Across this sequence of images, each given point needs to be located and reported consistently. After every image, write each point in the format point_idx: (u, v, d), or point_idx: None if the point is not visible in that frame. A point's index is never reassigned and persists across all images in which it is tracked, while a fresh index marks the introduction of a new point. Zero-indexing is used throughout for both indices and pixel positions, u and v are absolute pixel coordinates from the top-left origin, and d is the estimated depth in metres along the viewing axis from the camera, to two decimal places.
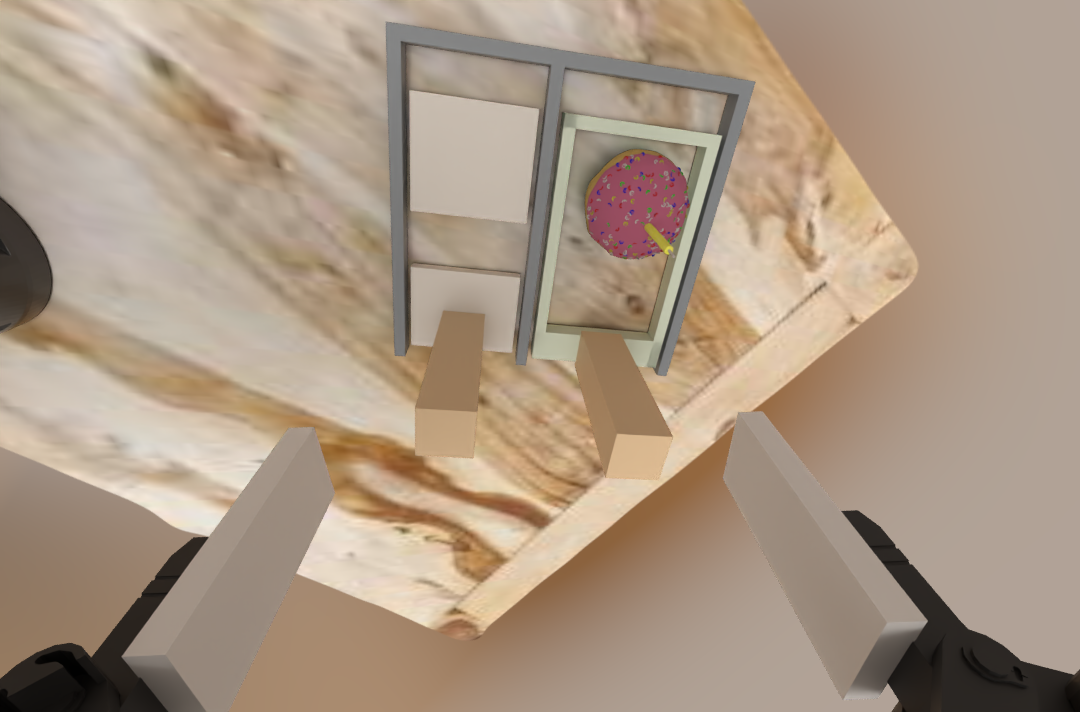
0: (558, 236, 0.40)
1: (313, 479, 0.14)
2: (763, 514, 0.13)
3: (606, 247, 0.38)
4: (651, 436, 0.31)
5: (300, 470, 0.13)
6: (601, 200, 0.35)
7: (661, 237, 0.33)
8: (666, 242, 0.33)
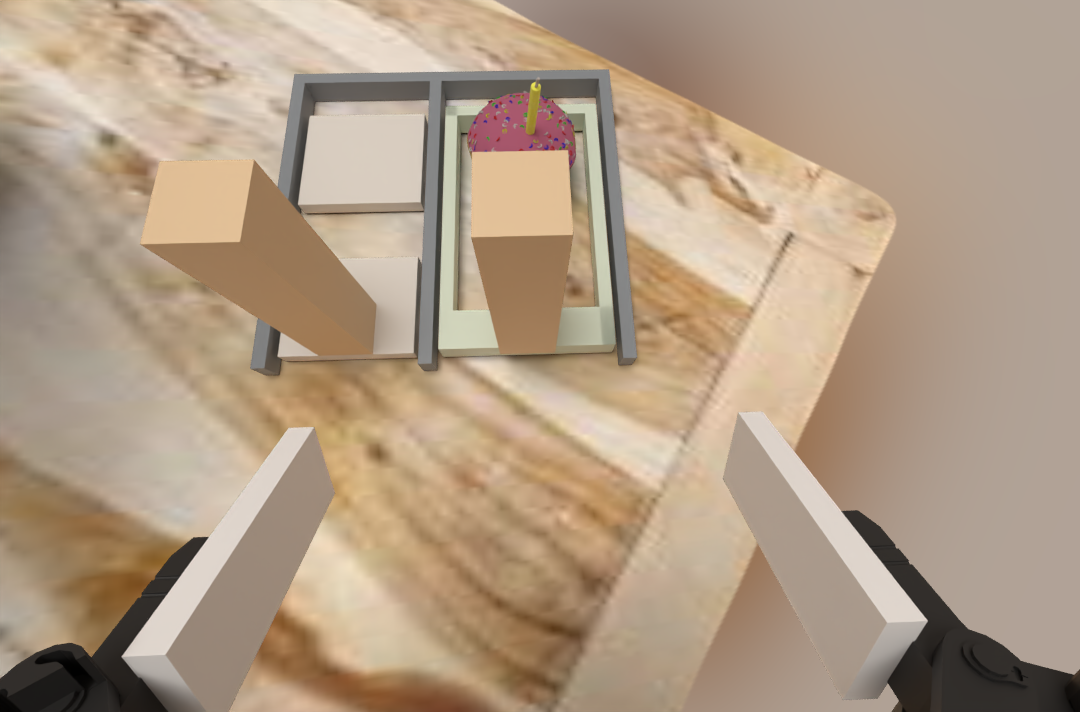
0: (453, 201, 0.37)
1: (313, 479, 0.14)
2: (763, 515, 0.13)
3: None
4: (530, 152, 0.19)
5: (300, 470, 0.13)
6: (477, 124, 0.34)
7: None
8: None
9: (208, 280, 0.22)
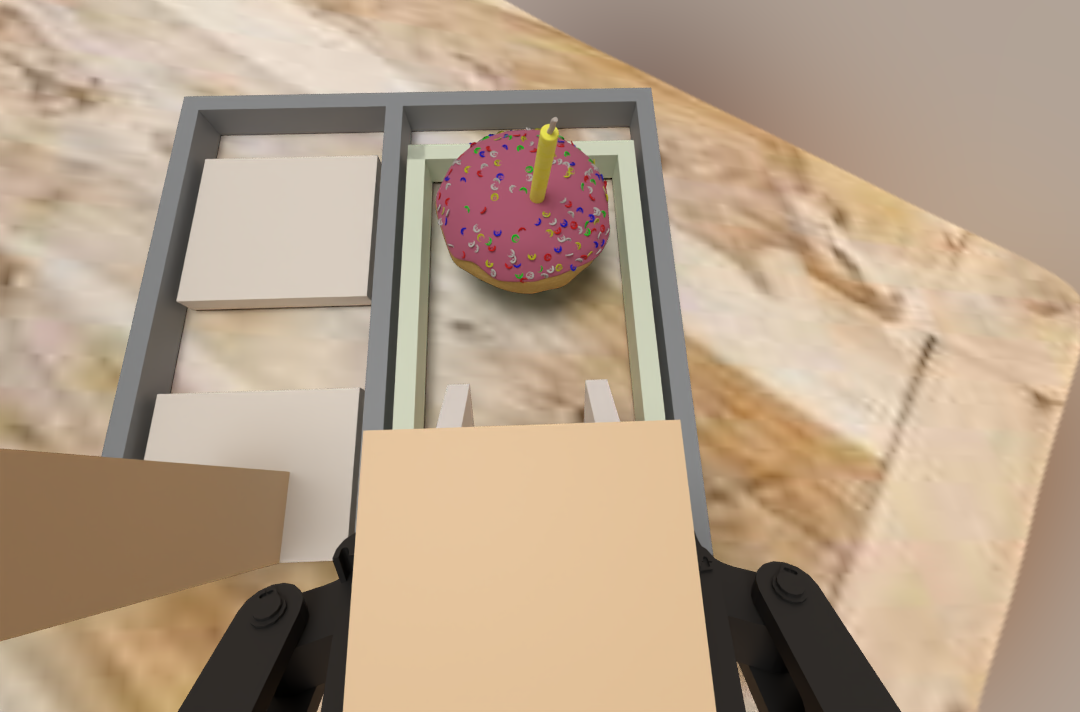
0: (416, 298, 0.24)
1: None
2: None
3: (479, 259, 0.21)
4: (557, 428, 0.06)
5: (467, 418, 0.15)
6: (451, 183, 0.21)
7: None
8: None
9: None
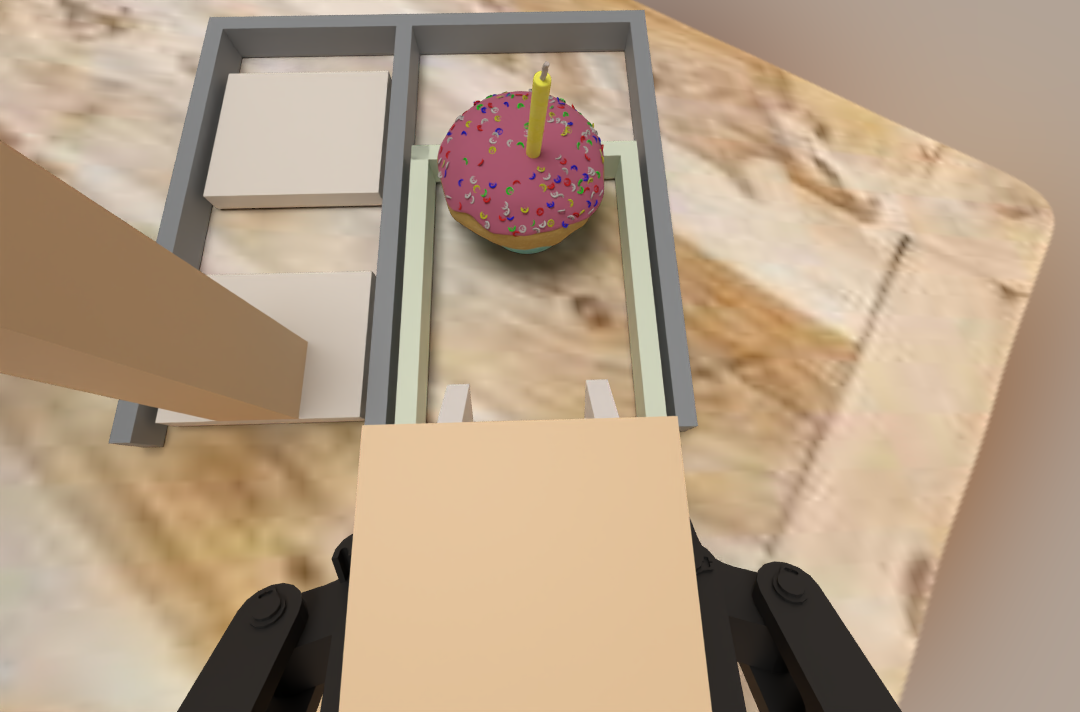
0: (419, 298, 0.24)
1: None
2: None
3: (474, 211, 0.21)
4: (555, 424, 0.06)
5: (466, 418, 0.15)
6: (453, 137, 0.22)
7: None
8: None
9: None
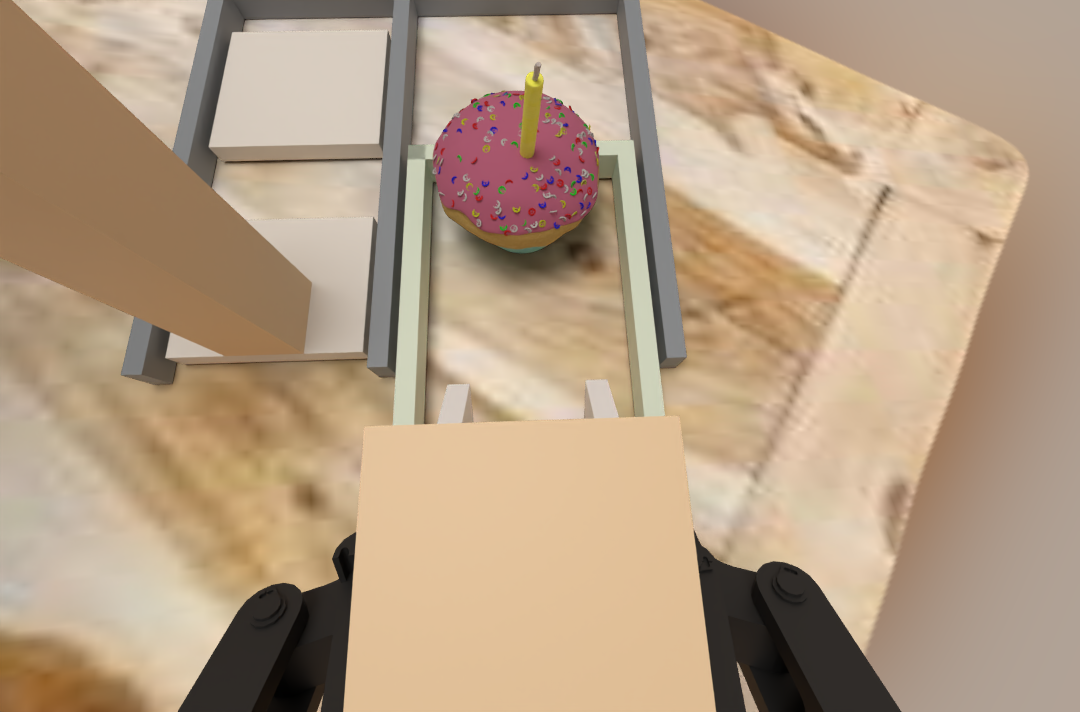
0: (416, 298, 0.24)
1: None
2: None
3: (466, 208, 0.21)
4: (557, 423, 0.06)
5: (466, 418, 0.15)
6: (448, 134, 0.22)
7: None
8: None
9: None
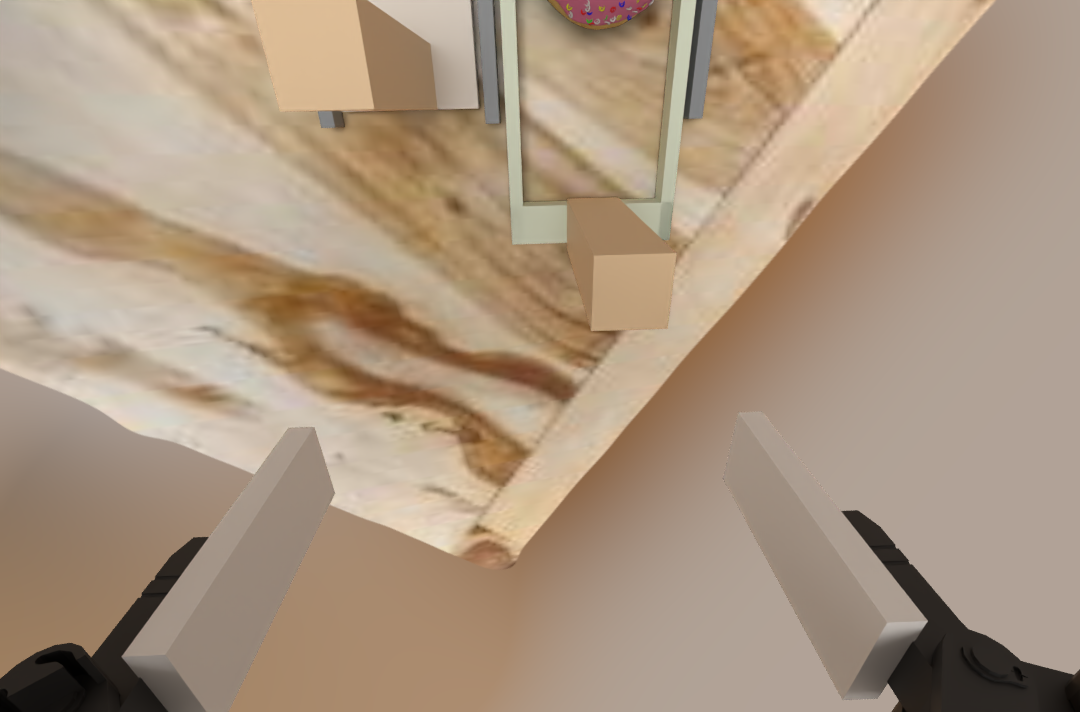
0: (515, 66, 0.32)
1: (313, 479, 0.14)
2: (763, 514, 0.13)
3: (562, 2, 0.28)
4: (644, 255, 0.22)
5: (300, 470, 0.13)
6: None
7: None
8: None
9: None
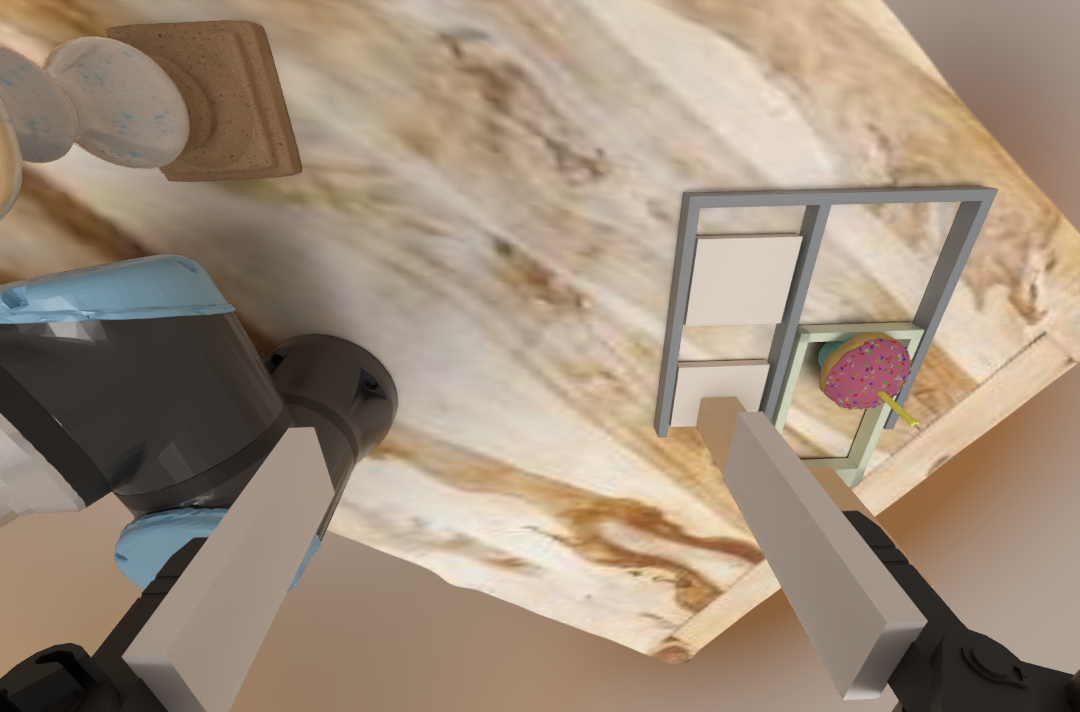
0: (787, 409, 0.52)
1: (313, 479, 0.14)
2: (763, 514, 0.13)
3: (838, 403, 0.48)
4: None
5: (300, 470, 0.13)
6: (844, 374, 0.45)
7: (903, 410, 0.43)
8: (910, 417, 0.43)
9: None
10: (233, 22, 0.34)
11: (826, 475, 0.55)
